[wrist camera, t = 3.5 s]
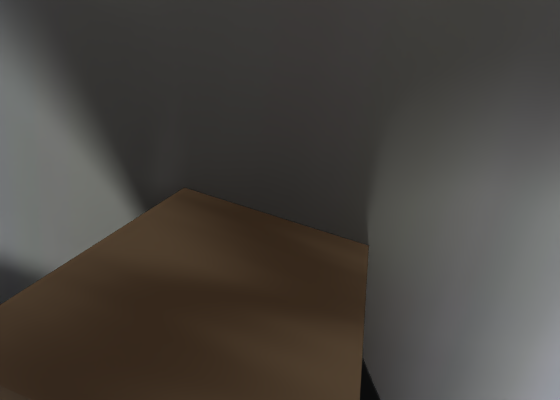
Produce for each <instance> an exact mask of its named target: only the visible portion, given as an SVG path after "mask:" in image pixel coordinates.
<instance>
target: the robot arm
mask: <svg viewBox="0 0 560 400" xmlns="http://www.w3.org/2000/svg"><path fill="white" fill-rule="evenodd" d="M360 400H380V398H379V395H378V393H377V390H376V388H375V386H374V383H373V381H372V379H371V376H370V374H369V372H368V369H367V367H366V364H365V362H364V360H363V357H362V370H361V387H360Z"/></svg>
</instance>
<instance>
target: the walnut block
mask: <svg viewBox="0 0 560 400" xmlns="http://www.w3.org/2000/svg"><path fill="white" fill-rule="evenodd" d="M368 250H369V246H368V245H365V244H362V243H358V242H355V241H352V240H349V239H346V238H343V237H339V236H336V235H333V234H330V233H327V232H323V231H320V230H317V229H314V228H311V227H308V226H304V225H301V224H298V223H295V222H292V221H289V220H285V219H282V218H279V217H276V216H273V215H270V214H266V213H263V212H260V211H257V210H254V209H251V208H247V207H244V206H241V205H238V204H235V203H231V202H228V201H225V200H222V199H219V198H216V197H212V196H209V195H206V194H203V193H200V192H197V191H193V190H190V189H187V188H183V189H181V190H180V191H178V192H177V193H175V194H173V195H172V196H170V197H169V198H167V199H166V200H164V201H162V202H161V203H159V204H158V205H156V206H155V207H153V208H151V209H150V210H148V211H147V212H145V213H144V214H142V215H140V216H139V217H137V218H136V219H134V220H133V221H131V222H129V223H128V224H126V225H125V226H123V227H122V228H120V229H118V230H117V231H115V232H114V233H112V234H111V235H109V236H107V237H106V238H104V239H103V240H101V241H100V242H98V243H96V244H95V245H93V246H92V247H90V248H89V249H87V250H85V251H84V252H82V253H81V254H79V255H78V256H76V257H74V258H73V259H71V260H70V261H68V262H67V263H65V264H63V265H62V266H60V267H59V268H57V269H56V270H54V271H52V272H51V273H49V274H48V275H46V276H45V277H43V278H41V279H40V280H38V281H37V282H35V283H34V284H32V285H30V286H29V287H27V288H26V289H24V290H23V291H21V292H19V293H18V294H16V295H15V296H13V297H12V298H10V299H8V300H7V301H5V302H4V303H2V304H1V305H0V400H360V387H361V370H362V353H363V335H364V318H365V301H366V284H367V267H368Z"/></svg>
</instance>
